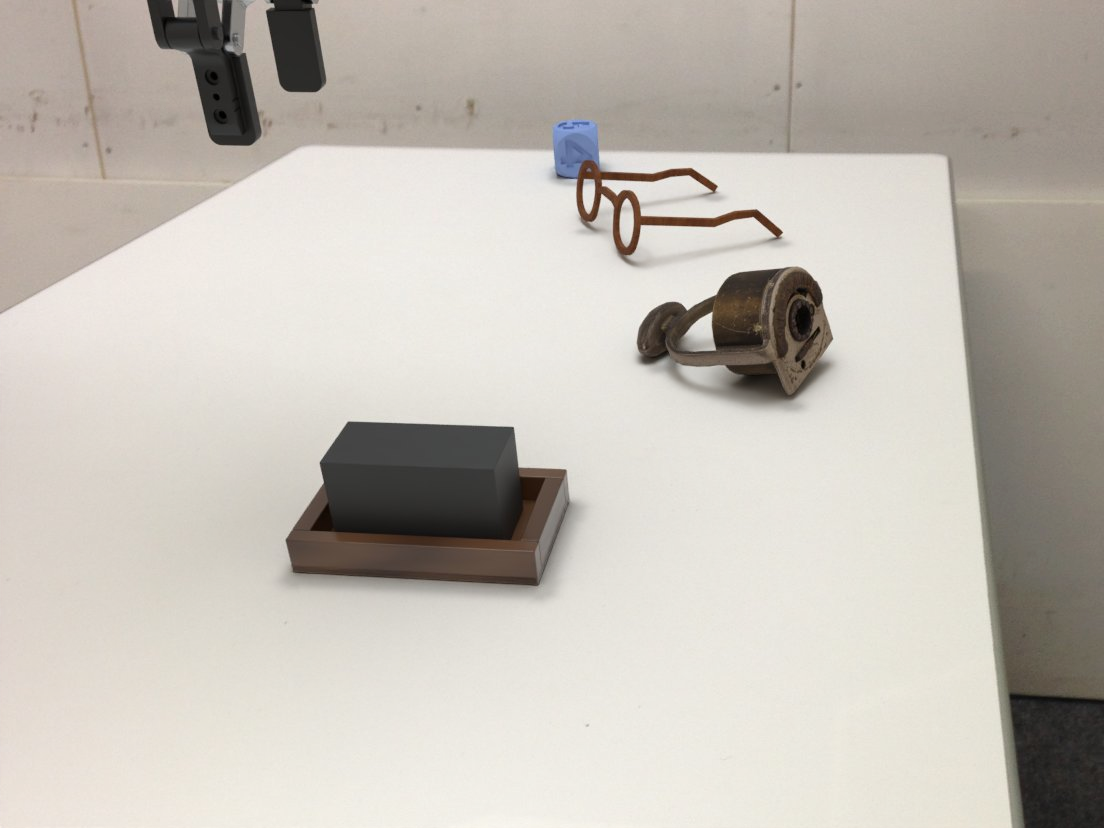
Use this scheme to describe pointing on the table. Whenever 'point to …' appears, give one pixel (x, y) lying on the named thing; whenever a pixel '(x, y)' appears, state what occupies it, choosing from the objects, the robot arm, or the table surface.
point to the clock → (424, 480)
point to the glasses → (630, 195)
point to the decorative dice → (574, 146)
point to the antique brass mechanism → (749, 326)
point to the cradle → (438, 542)
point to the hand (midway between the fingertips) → (273, 115)
